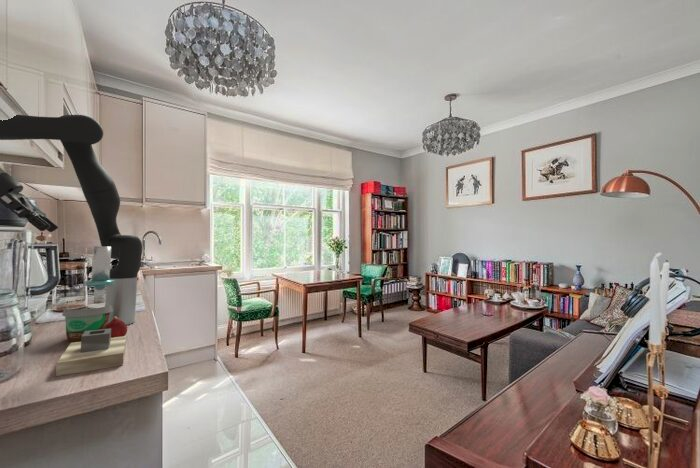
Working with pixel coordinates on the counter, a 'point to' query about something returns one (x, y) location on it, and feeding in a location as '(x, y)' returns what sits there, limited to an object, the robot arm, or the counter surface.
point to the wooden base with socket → (92, 353)
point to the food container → (84, 321)
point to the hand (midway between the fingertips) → (50, 229)
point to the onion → (117, 328)
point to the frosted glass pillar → (100, 272)
